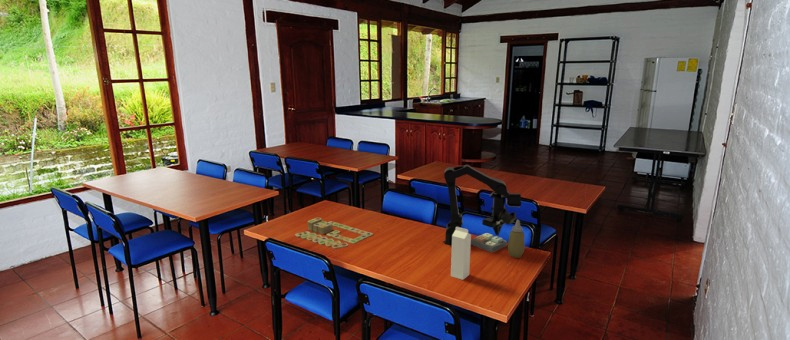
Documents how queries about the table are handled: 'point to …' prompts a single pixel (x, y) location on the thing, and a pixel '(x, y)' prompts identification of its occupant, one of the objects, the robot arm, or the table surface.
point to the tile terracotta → (481, 239)
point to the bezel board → (487, 247)
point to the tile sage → (487, 236)
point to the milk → (460, 253)
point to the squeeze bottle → (516, 241)
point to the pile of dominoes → (325, 227)
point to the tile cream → (490, 243)
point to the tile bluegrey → (497, 239)
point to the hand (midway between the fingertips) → (497, 235)
